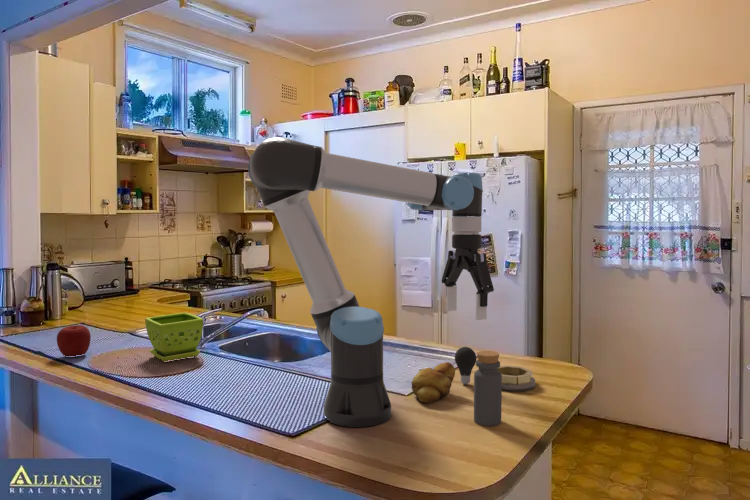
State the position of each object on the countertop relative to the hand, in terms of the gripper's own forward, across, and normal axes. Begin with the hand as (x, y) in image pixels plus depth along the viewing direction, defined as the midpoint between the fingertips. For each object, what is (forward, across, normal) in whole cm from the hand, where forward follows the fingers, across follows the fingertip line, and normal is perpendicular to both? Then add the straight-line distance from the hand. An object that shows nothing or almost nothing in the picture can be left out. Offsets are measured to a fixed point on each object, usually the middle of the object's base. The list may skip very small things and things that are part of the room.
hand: (465, 314), depth 144 cm
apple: (+20, +77, +95) cm, 124 cm away
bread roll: (+19, -4, +13) cm, 23 cm away
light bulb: (+19, 0, 0) cm, 19 cm away
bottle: (+19, -24, +10) cm, 32 cm away
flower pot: (+19, +62, +66) cm, 93 cm away
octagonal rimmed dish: (+18, -5, -11) cm, 22 cm away
